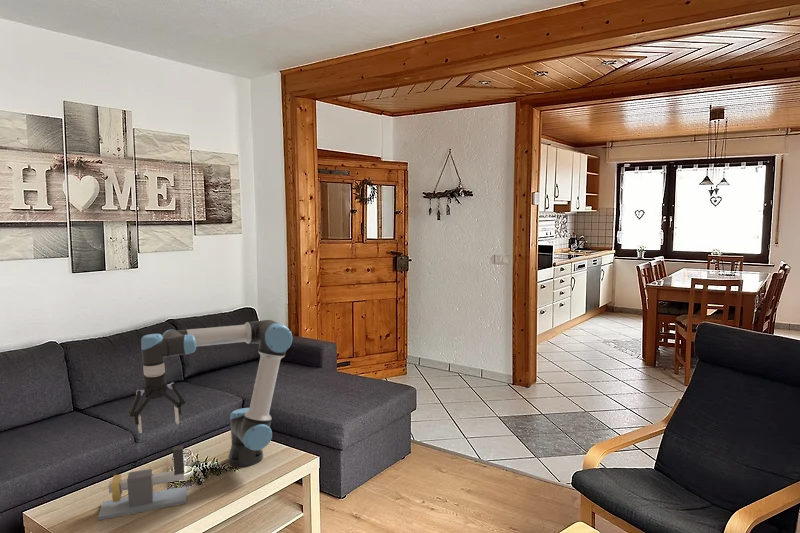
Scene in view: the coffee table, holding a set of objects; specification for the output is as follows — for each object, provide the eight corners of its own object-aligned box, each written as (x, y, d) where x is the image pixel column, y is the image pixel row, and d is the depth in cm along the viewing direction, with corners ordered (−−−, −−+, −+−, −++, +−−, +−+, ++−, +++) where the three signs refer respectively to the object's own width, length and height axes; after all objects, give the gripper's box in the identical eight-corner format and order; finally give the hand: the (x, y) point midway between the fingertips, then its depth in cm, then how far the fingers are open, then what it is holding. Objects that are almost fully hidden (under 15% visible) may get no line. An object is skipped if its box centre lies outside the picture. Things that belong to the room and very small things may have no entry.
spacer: (122, 492, 210) (121, 474, 209) (120, 501, 203) (118, 482, 203) (115, 493, 209) (113, 475, 209) (112, 502, 202) (111, 483, 202)
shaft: (184, 475, 216) (182, 445, 215) (184, 479, 213) (182, 448, 212) (110, 489, 207) (107, 457, 206) (109, 493, 204) (106, 461, 202)
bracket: (186, 488, 221) (184, 460, 220) (186, 503, 210) (184, 472, 209) (103, 504, 210) (100, 474, 209) (98, 520, 199) (95, 488, 198)
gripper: (185, 366, 221) (189, 416, 223) (117, 379, 207) (122, 433, 209) (190, 369, 215) (194, 421, 217) (120, 383, 201) (125, 439, 203)
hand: (159, 427), depth 213 cm, fingers open, 13 cm apart
